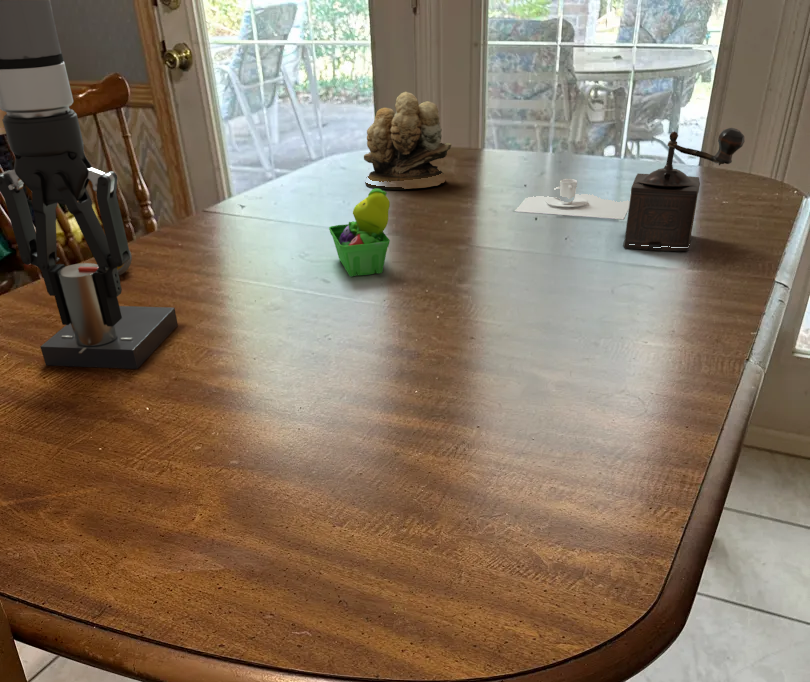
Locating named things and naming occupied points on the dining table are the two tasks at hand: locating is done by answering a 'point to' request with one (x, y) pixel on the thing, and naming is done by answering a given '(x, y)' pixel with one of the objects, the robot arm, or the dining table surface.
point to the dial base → (115, 341)
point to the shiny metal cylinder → (85, 305)
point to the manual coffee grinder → (671, 198)
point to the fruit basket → (364, 236)
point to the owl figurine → (405, 142)
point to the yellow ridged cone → (124, 266)
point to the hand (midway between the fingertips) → (92, 321)
